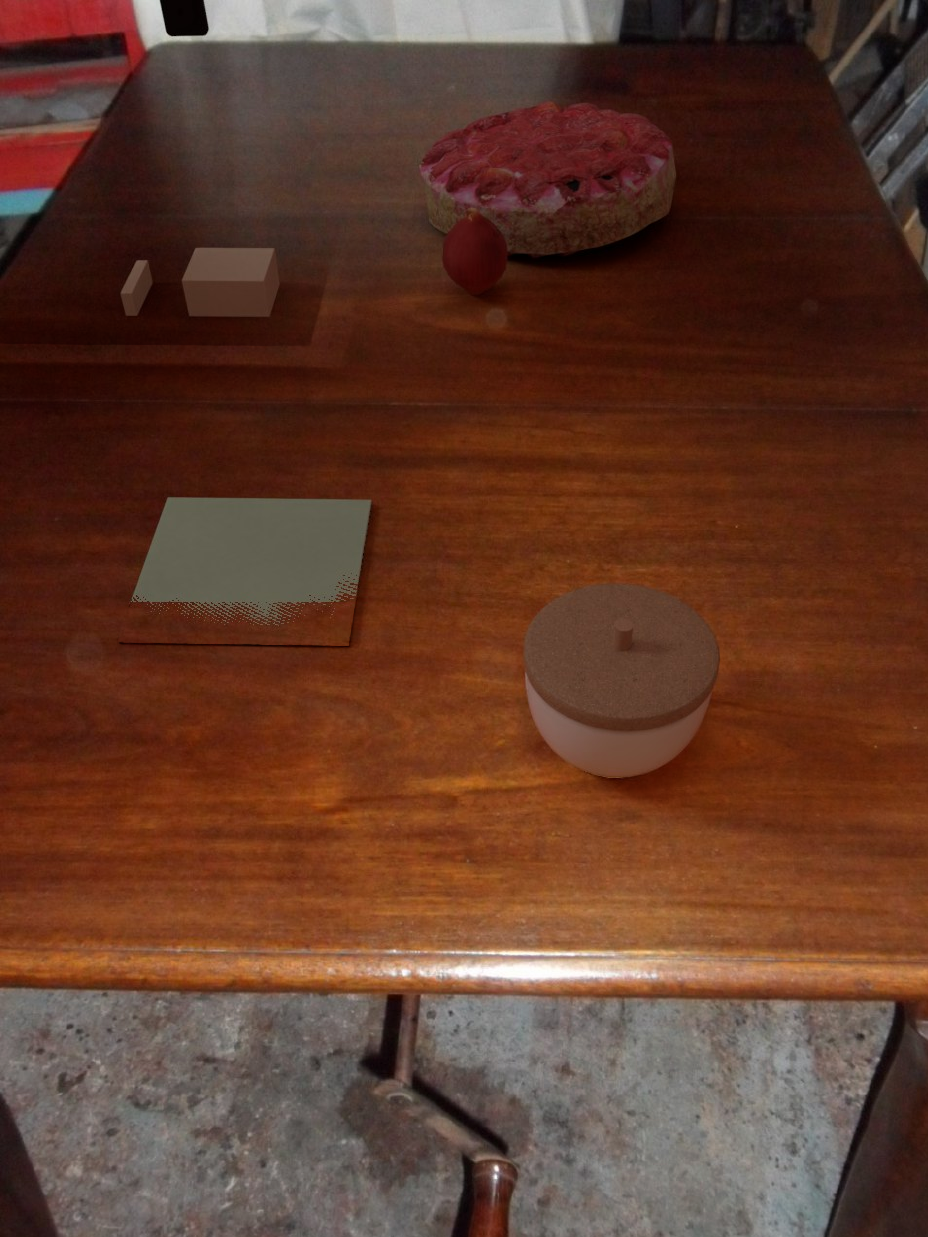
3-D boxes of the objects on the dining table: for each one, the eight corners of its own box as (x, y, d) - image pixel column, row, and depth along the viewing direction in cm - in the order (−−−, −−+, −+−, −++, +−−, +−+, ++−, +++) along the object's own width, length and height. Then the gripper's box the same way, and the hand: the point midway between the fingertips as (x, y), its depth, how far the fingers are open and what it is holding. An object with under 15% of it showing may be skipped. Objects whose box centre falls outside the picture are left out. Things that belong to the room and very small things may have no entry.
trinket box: (523, 811, 65) (526, 698, 58) (519, 675, 72) (521, 560, 65) (713, 810, 65) (739, 696, 58) (690, 674, 72) (710, 558, 65)
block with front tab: (130, 336, 101) (116, 279, 97) (146, 302, 105) (133, 246, 101) (301, 337, 101) (293, 281, 97) (310, 303, 105) (303, 248, 101)
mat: (118, 643, 75) (117, 639, 74) (168, 501, 85) (167, 497, 85) (349, 647, 74) (348, 642, 74) (371, 503, 84) (371, 499, 84)
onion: (476, 272, 109) (475, 187, 103) (520, 293, 106) (521, 207, 100) (431, 294, 106) (427, 207, 100) (474, 316, 103) (473, 228, 97)
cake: (721, 233, 111) (727, 146, 106) (477, 288, 106) (470, 200, 101) (614, 152, 128) (614, 74, 123) (399, 197, 123) (390, 117, 118)
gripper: (123, -283, 85) (173, -19, 98) (62, -241, 73) (128, 53, 86) (224, -285, 85) (262, -21, 97) (179, -244, 73) (229, 51, 86)
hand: (199, 13), depth 92 cm, fingers open, 9 cm apart
